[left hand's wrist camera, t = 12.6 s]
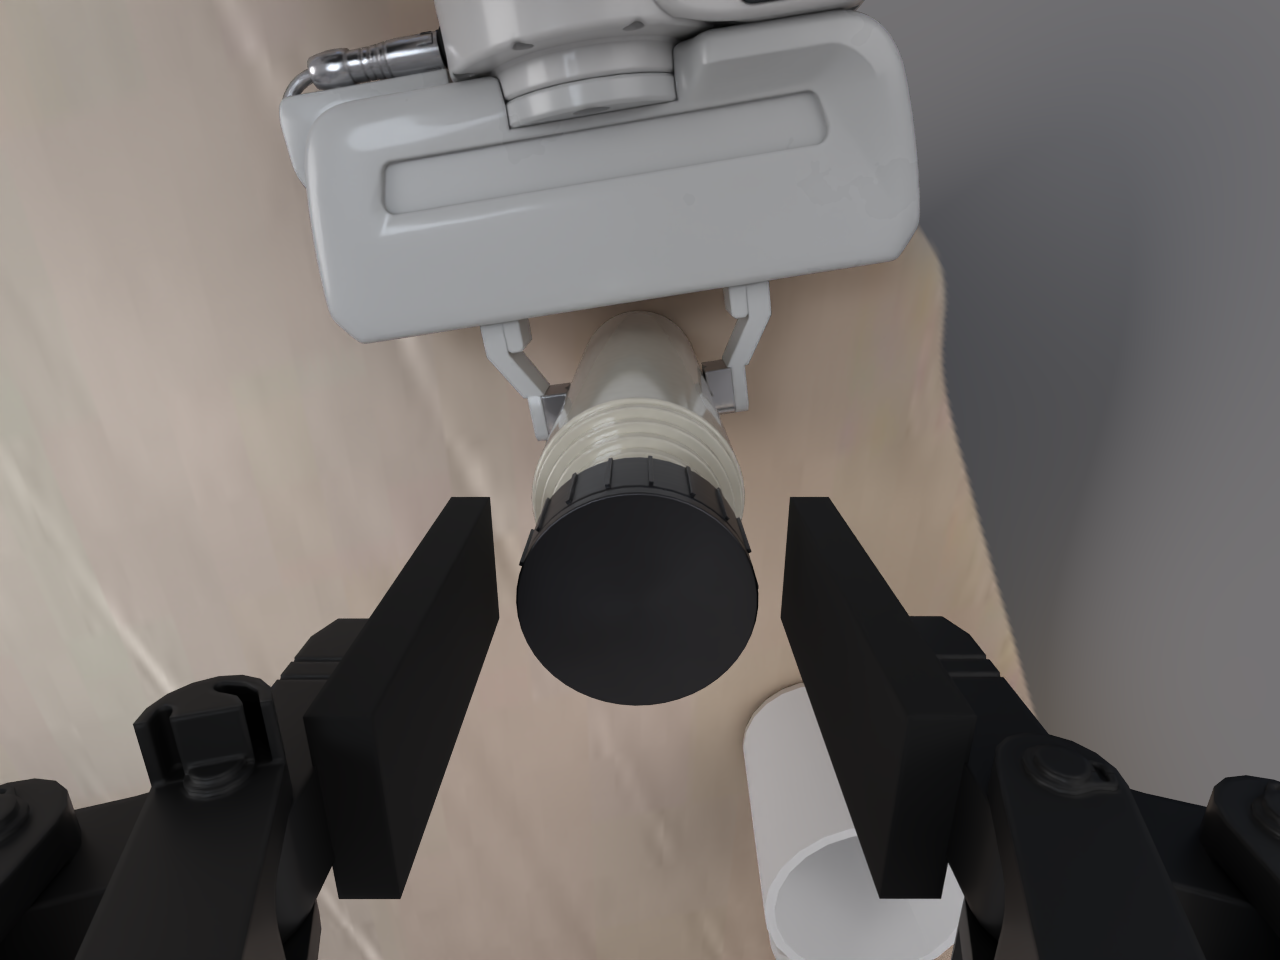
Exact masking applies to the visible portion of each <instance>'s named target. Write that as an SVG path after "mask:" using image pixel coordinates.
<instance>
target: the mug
mask: <svg viewBox="0 0 1280 960" xmlns="http://www.w3.org/2000/svg"><path fill="white" fill-rule="evenodd" d="M743 752H744V759H745V766H746V774H747V782H748V789H749V797H750V805H751V813H752V820H753V828H754V836H755V844H756V851H757V859H758V867H759V875H760V882H761V890H762V898H763V905H764V913H765V920H766V926H767V929H768V932H769V938H770V944H771V949H772V952H773V954H774V956H775V958H776V960H933V959H935V958H937V957H938V956H939V955H941V954H942V953H943V952H944V951H945V950H947V949H948V948H949V947H950V946H952V945H953V944H954V942H955V937H956V932H957V928H958V923H959V918H960V914H961V909H962V904H963V900H964V895H963V893H962V890H961V888H960V886H959V884H958V882H957V880H956V878H955V876H954V874H953V872H952V870H951V867H950V865H949V863H948V867H947V872H946V877H945V882H944V887H943V892H942V897H941V899H879V896H878V893H877V890H876V887H875V884H874V882H873V879H872V876H871V873H870V870H869V867H868V865H867V862H866V859H865V856H864V853H863V850H862V848H861V845H860V842H859V839H858V836H857V833H856V830H855V828H854V825H853V822H852V819H851V816H850V813H849V811H848V808H847V805H846V802H845V799H844V796H843V794H842V791H841V788H840V785H839V782H838V779H837V777H836V774H835V771H834V768H833V765H832V762H831V760H830V757H829V754H828V751H827V748H826V745H825V742H824V740H823V737H822V734H821V731H820V728H819V725H818V723H817V720H816V717H815V714H814V711H813V708H812V706H811V703H810V700H809V697H808V694H807V691H806V689H805V686H804V683H798V684H795V685H792V686H790V687H787V688H784V689H782V690H780V691H778V692H777V693H775V694H774V695H772V696H771V697H769V698H768V699H766V700H765V701H764V702H763V703H762V704H761V706H760V707H759V708H758V709H757V710H756V711H755V712H754V713H753V715H752V717H751V719H750V721H749V723H748V725H747V726H746V728H745V733H744V738H743Z"/></svg>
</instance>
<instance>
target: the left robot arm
mask: <svg viewBox="0 0 1280 960" xmlns="http://www.w3.org/2000/svg"><path fill="white" fill-rule="evenodd" d="M498 620H499V607H498V594H497V581H496V568H495V556H494V543H493V530H492V517H491V505H490V497H451V498H450V500H449V501H448V503H447V504H446V506H445V507H444V509H443V510H442V512H441V513H440V515H439V516H438V518H437V519H436V521H435V522H434V524H433V525H432V526H431V528H430V529H429V531H428V532H427V534H426V535H425V537H424V538H423V540H422V541H421V543H420V544H419V546H418V547H417V549H416V550H415V552H414V553H413V555H412V556H411V557H410V559H409V560H408V562H407V563H406V565H405V566H404V568H403V569H402V571H401V572H400V574H399V575H398V577H397V578H396V580H395V581H394V583H393V584H392V586H391V587H390V588H389V590H388V591H387V593H386V594H385V596H384V597H383V599H382V600H381V602H380V603H379V605H378V606H377V608H376V609H375V611H374V612H373V614H372V615H371V617H370V618H369V619H337V620H335V621H334V622H332V623H331V624H329V625H328V626H326V627H325V628H323V629H322V630H320V631H319V632H317V633H316V634H314V635H313V636H311V637H310V639H309V640H308V641H307V642H306V644H305V645H304V646H303V647H302V649H301V650H300V651H299V653H298V654H297V655H296V656H295V660H294V662H291V663H290V664H289V665H288V667H287V668H286V669H285V670H284V672H283V673H282V674H281V678H280V680H276V682H275V683H274V684H273V686H272V687H270V686H269V685H267V684H266V683H265V682H264V681H263V680H261V679H259V678H255V677H250V676H245V675H232V676H218V677H214V678H210V679H206V680H202V681H198V682H194V683H191V684H189V685H187V686H184V687H182V688H180V689H178V690H175V691H173V692H171V693H168V694H167V695H165V696H164V697H162V698H161V699H159V700H158V701H156V702H155V703H153V704H152V705H151V706H149V707H148V708H146V709H145V711H144V712H143V713H142V714H141V715H140V716H139V718H138V719H137V720H136V721H135V722H134V724H133V726H134V729H135V733H136V736H137V739H138V743H139V746H140V749H141V753H142V756H143V759H144V763H145V766H146V769H147V773H148V776H149V779H150V783H151V786H152V787H151V789H150V792H149V793H145V794H142V795H138V796H135V797H130V798H126V799H121V800H117V801H112V802H108V803H103V804H99V805H94V806H90V807H86V808H81V809H77V810H74V808H73V805H72V802H71V800H70V797H69V794H68V791H67V789H65V788H64V787H63V786H62V785H60V784H59V783H58V782H57V781H53V780H44V779H29V780H22V781H16V782H10V783H6V784H3V785H0V960H318V952H319V943H320V935H321V923H320V915H319V909H318V904H317V900H316V898H317V896H318V894H319V892H320V890H321V888H322V886H323V884H324V882H325V880H326V877H327V875H328V873H329V871H330V869H331V867H333V872H334V877H335V882H336V887H337V892H338V897H339V899H401V896H402V893H403V890H404V887H405V884H406V882H407V879H408V876H409V873H410V870H411V867H412V865H413V862H414V859H415V856H416V853H417V850H418V848H419V845H420V842H421V839H422V836H423V833H424V831H425V828H426V825H427V822H428V819H429V816H430V813H431V811H432V808H433V805H434V802H435V799H436V796H437V794H438V791H439V788H440V785H441V782H442V779H443V777H444V774H445V771H446V768H447V765H448V762H449V760H450V757H451V754H452V751H453V748H454V745H455V742H456V740H457V737H458V734H459V731H460V728H461V725H462V723H463V720H464V717H465V714H466V711H467V708H468V706H469V703H470V700H471V697H472V694H473V691H474V689H475V686H476V683H477V680H478V677H479V674H480V672H481V669H482V666H483V663H484V660H485V657H486V654H487V652H488V649H489V646H490V643H491V640H492V637H493V635H494V632H495V629H496V626H497V623H498ZM781 620H782V623H783V626H784V629H785V632H786V635H787V637H788V640H789V643H790V646H791V649H792V652H793V654H794V657H795V660H796V663H797V666H798V669H799V671H800V674H801V677H802V680H803V683H804V686H805V689H806V691H807V694H808V697H809V700H810V703H811V706H812V708H813V711H814V714H815V717H816V720H817V723H818V725H819V728H820V731H821V734H822V737H823V740H824V742H825V745H826V748H827V751H828V754H829V757H830V760H831V762H832V765H833V768H834V771H835V774H836V777H837V779H838V782H839V785H840V788H841V791H842V794H843V796H844V799H845V802H846V805H847V808H848V811H849V813H850V816H851V819H852V822H853V825H854V828H855V830H856V833H857V836H858V839H859V842H860V845H861V848H862V850H863V853H864V856H865V859H866V862H867V865H868V867H869V870H870V873H871V876H872V879H873V882H874V884H875V887H876V890H877V893H878V896H879V899H941V897H942V892H943V887H944V882H945V877H946V872H947V867H948V863H949V865H950V867H951V870H952V872H953V874H954V876H955V878H956V880H957V882H958V884H959V886H960V888H961V890H962V893H963V895H964V900H963V904H962V909H961V914H960V918H959V923H958V928H957V932H956V937H955V942H954V946H953V951H952V956H951V960H1280V782H1279V781H1276V780H1272V779H1266V778H1260V777H1254V776H1247V775H1245V776H1236V777H1227V778H1224V779H1223V780H1222V781H1221V782H1219V783H1218V784H1217V785H1216V786H1214V788H1213V791H1212V794H1211V797H1210V800H1209V802H1208V805H1207V807H1204V806H1200V805H1195V804H1191V803H1186V802H1182V801H1177V800H1173V799H1169V798H1164V797H1160V796H1155V795H1150V794H1146V793H1142V792H1139V791H1135V790H1132V789H1130V788H1129V786H1128V785H1127V783H1126V782H1125V780H1124V779H1123V778H1122V776H1121V775H1120V773H1119V772H1118V771H1117V769H1116V768H1115V767H1113V766H1112V765H1111V764H1109V763H1108V762H1107V761H1106V760H1104V759H1103V758H1102V757H1101V756H1099V755H1098V754H1097V753H1095V752H1093V751H1091V750H1089V749H1087V748H1085V747H1083V746H1081V745H1079V744H1077V743H1075V742H1073V741H1070V740H1066V739H1063V738H1060V737H1056V736H1053V735H1049V734H1048V733H1047V732H1046V730H1045V729H1044V728H1043V726H1042V725H1041V724H1040V723H1039V721H1038V720H1037V719H1036V718H1035V716H1034V715H1033V714H1032V713H1031V711H1030V710H1029V709H1028V708H1027V706H1026V705H1025V704H1024V703H1023V701H1022V700H1021V699H1020V697H1019V696H1018V695H1017V694H1016V692H1015V691H1014V690H1013V689H1012V687H1011V686H1010V685H1009V684H1008V682H1007V681H1006V680H1005V679H1004V677H1000V672H999V671H998V670H997V668H996V667H995V666H994V665H993V663H992V662H991V661H990V660H989V659H986V655H985V653H984V652H983V651H982V650H981V648H980V647H979V646H978V644H977V643H976V642H975V641H974V639H973V638H972V637H971V636H970V634H968V633H967V632H965V631H964V630H962V629H961V628H959V627H958V626H956V625H955V624H953V623H952V622H950V621H948V620H947V619H945V618H944V617H942V616H909V615H908V614H907V612H906V611H905V609H904V608H903V606H902V605H901V603H900V602H899V600H898V599H897V597H896V596H895V594H894V593H893V591H892V590H891V588H890V587H889V586H888V584H887V583H886V581H885V580H884V578H883V577H882V575H881V574H880V572H879V571H878V569H877V568H876V566H875V565H874V563H873V562H872V560H871V559H870V557H869V556H868V555H867V553H866V552H865V550H864V549H863V547H862V546H861V544H860V543H859V541H858V540H857V538H856V537H855V535H854V534H853V532H852V531H851V529H850V528H849V526H848V525H847V523H846V522H845V521H844V519H843V518H842V516H841V515H840V513H839V512H838V510H837V509H836V507H835V506H834V504H833V503H832V501H831V500H830V498H829V497H790V505H789V518H788V530H787V543H786V556H785V569H784V581H783V594H782V607H781Z"/></svg>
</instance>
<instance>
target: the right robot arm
mask: <svg viewBox="0 0 1280 960" xmlns="http://www.w3.org/2000/svg"><path fill="white" fill-rule="evenodd" d="M863 2H864V0H434V4H435V8H436V13H437V18H438V20H439V24H440V26H439V30H436V31H428V32H422V33H420V34H415V35H409V36H404V37H398V38H394V39H390V40H386V41H385V42H384V41H383V42H381V43H378V44H375V45H371V46H370V47H363V48H359V49H354V50H349V49H347V48H338V49H331V50H326V51H323V52H320V53H318V54H315V55H313V56H311V57H309V59H308V61H307V67H308V69H306V70H304V71H303V72H301V73H300V74H298V75H297V76H296V77H295V78H294V79H293V80H292V81H291V82H290V84H289V85H288V87H287V89H286V91H285V93H284V96H283V99H282V101H281V103H280V107H279V118H280V124H281V128H282V131H283V135H284V138H285V142H286V145H287V149H288V152H289V155H290V159H291V162H292V166H293V168H294V170H295V172H296V174H297V176H298V178H299V180H300V181H301V183H302V184H303V186H304V187H305V188H306V191H307V200H308V208H309V215H310V223H311V230H312V236H313V241H314V247H315V253H316V258H317V263H318V268H319V273H320V277H321V282H322V286H323V290H324V295H325V299H326V302H327V306H328V310H329V312H330V315H331V317H332V319H333V320H334V321H335V322H336V323H337V324H338V325H339V326H340V327H341V328H342V329H344V330H345V331H346V332H347V333H348V334H349V335H351V336H352V337H353V338H354V339H356V340H357V341H358V342H360V343H364V344H365V343H374V342H381V341H387V340H393V339H400V338H406V337H413V336H419V335H425V334H432V333H438V332H444V331H451V330H457V329H463V328H470V327H476V326H480V329H481V333H482V338H483V342H484V347H485V351H486V355H487V358H488V359H489V360H490V362H491V363H492V364H493V365H494V366H495V367H496V368H497V369H498V370H499V371H500V373H501V374H502V375H503V376H504V377H505V378H506V379H507V380H508V381H509V383H510V384H511V385H512V386H513V387H514V388H515V389H516V390H517V391H518V392H519V394H520V395H521V396H522V397H523V398H527V399H528V404H529V408H530V413H531V418H532V422H533V427H534V432H535V436H536V438H537V440H538V441H544V440H548V437H549V435H550V432H551V430H552V428H553V425H554V423H555V421H556V418H557V416H558V413H559V411H560V409H561V406H562V404H563V402H564V399H565V397H566V394H567V392H568V390H569V387H570V385H571V383H564V384H556V385H550V384H549V382H548V381H547V380H546V379H545V378H544V376H543V375H542V374H541V373H540V371H539V370H538V369H537V368H536V367H535V365H534V364H533V363H532V362H531V360H530V359H529V358H528V357H527V356H526V354H525V353H524V352H523V350H524V348H525V347H526V346H527V345H528V344H529V343H530V341H531V340H532V335H531V330H530V325H529V320H528V318H533V317H540V316H546V315H553V314H559V313H565V312H572V311H578V310H584V309H591V308H597V307H603V306H610V305H616V304H622V303H629V302H635V301H642V300H648V299H654V298H661V297H667V296H673V295H680V294H686V293H692V292H699V291H705V290H712V289H718V288H723V293H724V301H725V309H726V310H727V311H728V312H729V313H730V314H731V316H733V317H734V318H736V319H737V318H738V320H737V322H736V325H735V327H734V329H733V332H732V334H731V337H730V339H729V341H728V344H727V346H726V349H725V351H724V353H723V356H722V359H720V360H715V361H709V362H703V363H701V365H702V373H703V376H704V378H705V381H706V383H707V386H708V388H709V391H710V393H711V396H712V398H713V401H714V403H715V406H716V408H717V411H718V413H719V415H720V414H727V413H734V412H741V411H748V404H749V402H748V392H747V382H746V373H745V365H748V364H749V362H750V360H751V357H752V355H753V353H754V351H755V349H756V347H757V344H758V342H759V340H760V338H761V336H762V333H763V331H764V329H765V327H766V325H767V323H768V320H769V318H770V316H771V304H770V291H769V280H775V279H781V278H788V277H794V276H801V275H807V274H813V273H820V272H826V271H832V270H839V269H845V268H851V267H858V266H864V265H870V264H877V263H883V262H889V261H893V260H895V259H896V258H898V257H899V256H900V254H901V253H902V252H903V250H904V249H905V247H906V246H907V244H908V243H909V241H910V239H911V238H912V236H913V234H914V233H915V231H916V229H917V227H918V224H919V218H920V185H919V168H918V155H917V145H916V135H915V127H914V119H913V112H912V105H911V99H910V93H909V86H908V81H907V75H906V71H905V67H904V63H903V60H902V57H901V54H900V52H899V49H898V47H897V45H896V43H895V41H894V39H893V38H892V36H891V35H890V33H889V32H888V31H887V29H886V28H885V27H884V26H883V25H882V24H881V23H879V22H878V21H877V20H875V19H874V18H872V17H870V16H869V15H867V14H864V13H861V12H857V11H856V10H857V9H858V8H859V7H860V5H861V4H862V3H863ZM376 80H379V81H376ZM370 81H374V82H370ZM366 82H368V83H366ZM312 83H314V85H315V86H316V87H317V88H318V89H319V90H323V91H317V92H312V93H306V94H301V93H302V92H303V90H304V89H305V88H306V87H308V86H309V85H311V84H312ZM360 83H362V84H360ZM300 94H301V95H300Z"/></svg>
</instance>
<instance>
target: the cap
mask: <svg viewBox="0 0 1280 960" xmlns="http://www.w3.org/2000/svg"><path fill="white" fill-rule="evenodd" d="M750 552H751V549H750V546H749V543H748V540H747V537H746V534H745V531H744V528H743V525H742V522H741V519H740V517H738V518H736V516H735V514H734V511H733V510H732V508H731V507H730V505H729V504H728V502H727V500H726V499H725V498H724V497H723V494H722V491H721V489H720V488H719V487H718V488H717V489H716V488H715V487H714V486H713V485H712V484H711V483H709V482H708V481H707V480H706V479H704V478H703V477H701V476H700V475H698V474H697V473H695V472H693V471H691V468H690V467H689V466H686V468H685V467H683V466H681V465H678V464H675V463H672V462H669V461H664V460H660V459H655V458H653V456H648V458H644V457H633V458H621V459H615V460H613V458H609V459H608V461H607V462H603V463H600V464H597V465H595V466H592V467H590V468H588V469H586V470H584V471H582V472H580V473H579V474H577V473H576V472H575V473H574V474H572V478H571V479H570V480H568V481H567V482H566V483H565V484H563V485H562V486H561V487H560V488H559V489H558V490H557V491H556V492H555V493H554V495H553V496H552V497H551V498H547V499H546V500H545V503H544V506H543V509H542V512H541V514H540V516H539V518H538V521H537V524H536V527H535V530H533V529H531V532H530V535H529V537H528V540H527V543H526V546H525V549H524V552H523V555H522V557H521V560H520V564H519V565H520V566H522V568H521V571H520V574H519V579H518V584H517V595H516V604H517V613H518V618H519V622H520V626H521V630H522V632H523V634H524V637H525V639H526V641H527V643H528V645H529V647H530V648H531V650H532V652H533V653H534V655H535V656H536V657H537V659H538V660H539V661H540V662H541V664H542V665H543V666H544V667H545V668H546V669H547V670H548V671H549V672H550V673H551V674H552V675H553V676H555V677H556V678H557V679H559V680H560V681H561V682H563V683H564V684H565V685H567V686H569V687H571V688H572V689H574V690H576V691H577V692H580V693H582V694H584V695H587V696H589V697H591V698H595V699H598V700H601V701H605V702H610V703H615V704H621V705H634V706H636V705H653V704H660V703H666V702H670V701H674V700H678V699H681V698H683V697H686V696H688V695H691V694H693V693H695V692H697V691H699V690H701V689H703V688H705V687H706V686H708V685H709V684H711V683H712V682H714V681H715V680H717V679H718V678H719V677H720V676H721V675H723V674H724V673H725V672H726V671H727V670H728V669H729V668H730V667H731V666H732V665H733V663H734V662H735V661H736V660H737V659H738V657H739V656H740V654H741V653H742V651H743V650H744V648H745V647H746V645H747V643H748V641H749V639H750V636H751V634H752V631H753V628H754V625H755V622H756V617H757V611H758V583H757V579H756V576H755V573H754V569H753V566H752V563H751V560H750V556H749V553H750Z"/></svg>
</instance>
